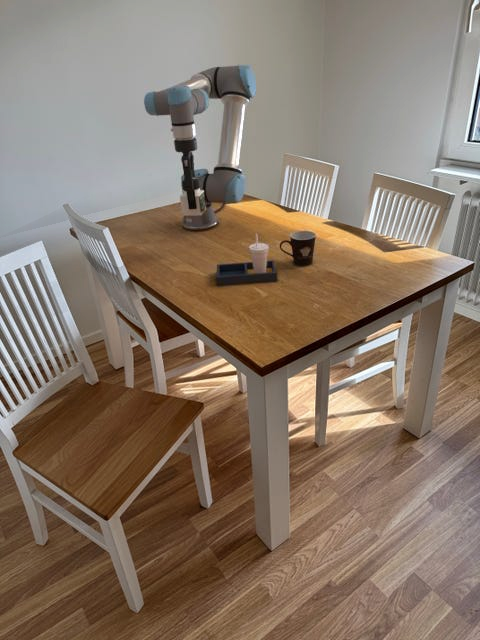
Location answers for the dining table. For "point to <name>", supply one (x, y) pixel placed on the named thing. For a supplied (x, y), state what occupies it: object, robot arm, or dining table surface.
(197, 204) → the medicine bottle
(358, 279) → the dining table surface
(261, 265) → the smoothie
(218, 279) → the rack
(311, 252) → the coffee mug
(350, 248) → the dining table surface
